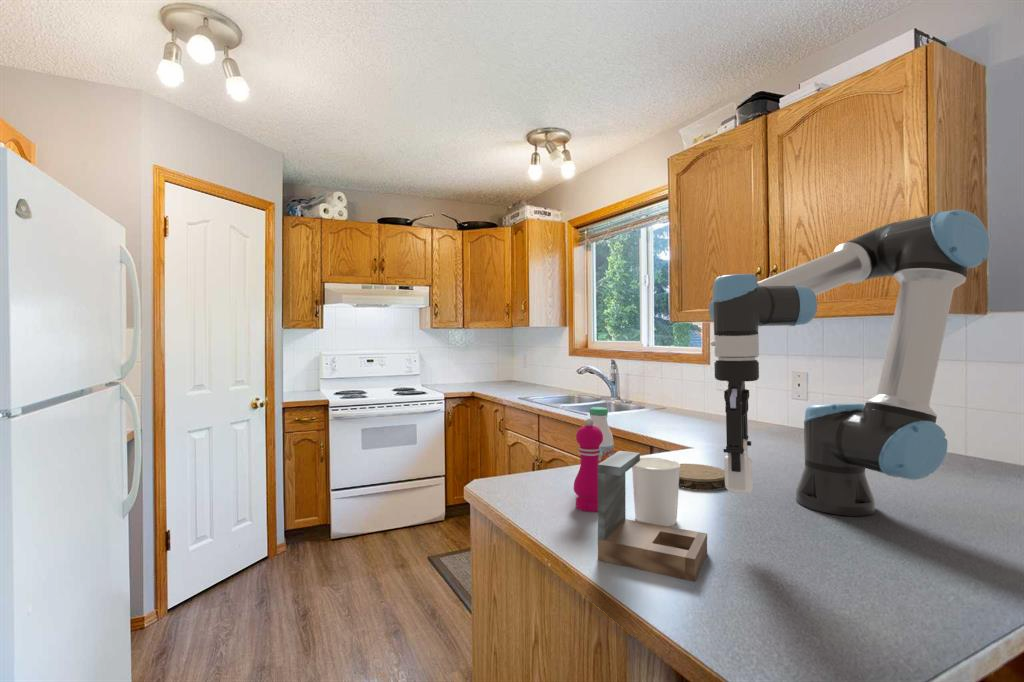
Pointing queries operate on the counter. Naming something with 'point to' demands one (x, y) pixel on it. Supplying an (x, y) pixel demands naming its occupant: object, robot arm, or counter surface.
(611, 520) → the socket stand
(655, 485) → the candle holder
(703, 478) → the tan flat round disc
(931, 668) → the counter surface
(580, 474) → the pepper mill
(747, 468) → the salt shaker
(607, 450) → the milk bottle
